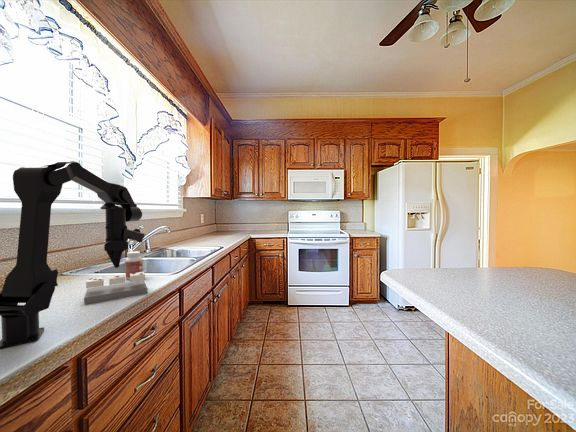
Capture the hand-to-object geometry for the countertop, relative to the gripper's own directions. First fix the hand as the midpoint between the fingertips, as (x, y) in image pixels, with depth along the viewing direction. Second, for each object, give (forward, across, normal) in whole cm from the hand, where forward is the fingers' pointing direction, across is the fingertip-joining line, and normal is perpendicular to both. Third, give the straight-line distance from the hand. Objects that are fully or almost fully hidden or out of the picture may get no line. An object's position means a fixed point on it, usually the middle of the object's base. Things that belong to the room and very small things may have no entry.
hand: (116, 267), depth 85 cm
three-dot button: (+5, 0, +6) cm, 8 cm away
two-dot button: (+5, 0, -6) cm, 8 cm away
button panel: (+9, 0, 0) cm, 9 cm away
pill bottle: (+9, +20, -6) cm, 23 cm away
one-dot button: (+5, 0, 0) cm, 5 cm away
